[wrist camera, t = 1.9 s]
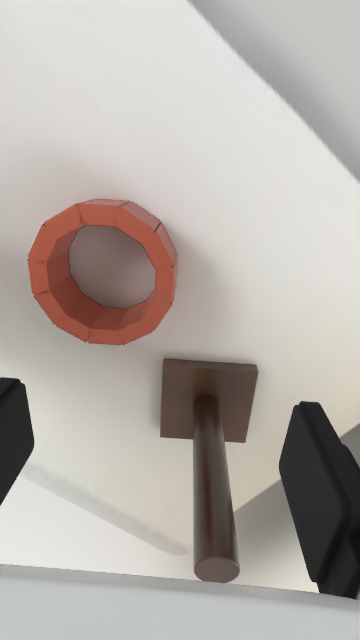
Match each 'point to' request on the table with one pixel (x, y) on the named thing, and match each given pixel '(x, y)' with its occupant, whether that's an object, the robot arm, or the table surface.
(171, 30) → the table surface
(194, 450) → the stand
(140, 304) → the hoop
